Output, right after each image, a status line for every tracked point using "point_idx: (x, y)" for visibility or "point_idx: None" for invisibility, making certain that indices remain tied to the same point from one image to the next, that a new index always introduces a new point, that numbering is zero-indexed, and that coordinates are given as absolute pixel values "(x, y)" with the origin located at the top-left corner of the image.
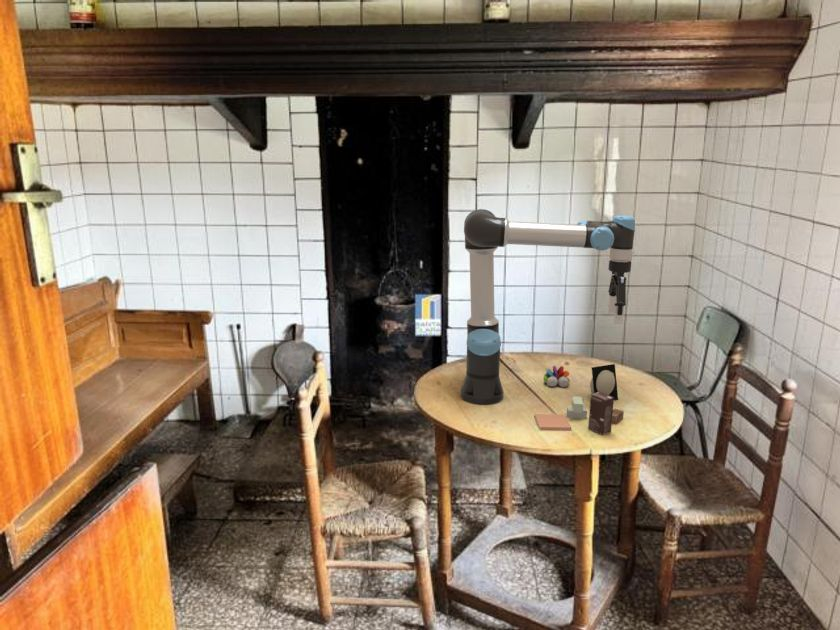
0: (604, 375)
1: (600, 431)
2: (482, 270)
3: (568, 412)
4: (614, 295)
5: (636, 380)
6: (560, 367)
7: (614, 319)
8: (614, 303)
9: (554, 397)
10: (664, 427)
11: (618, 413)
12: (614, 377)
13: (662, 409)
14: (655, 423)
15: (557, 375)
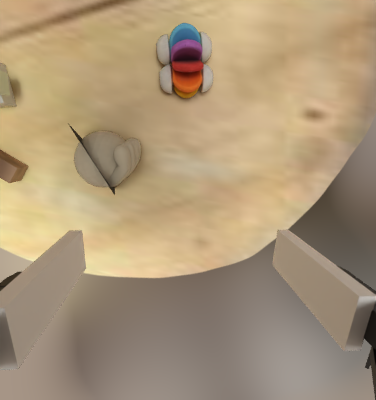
0: (77, 160)
1: None
2: None
3: None
4: (370, 339)
5: (218, 238)
6: (191, 63)
7: (65, 240)
8: (309, 294)
9: (100, 51)
10: (3, 242)
11: None
12: (112, 188)
13: None
14: (16, 231)
15: (171, 58)
